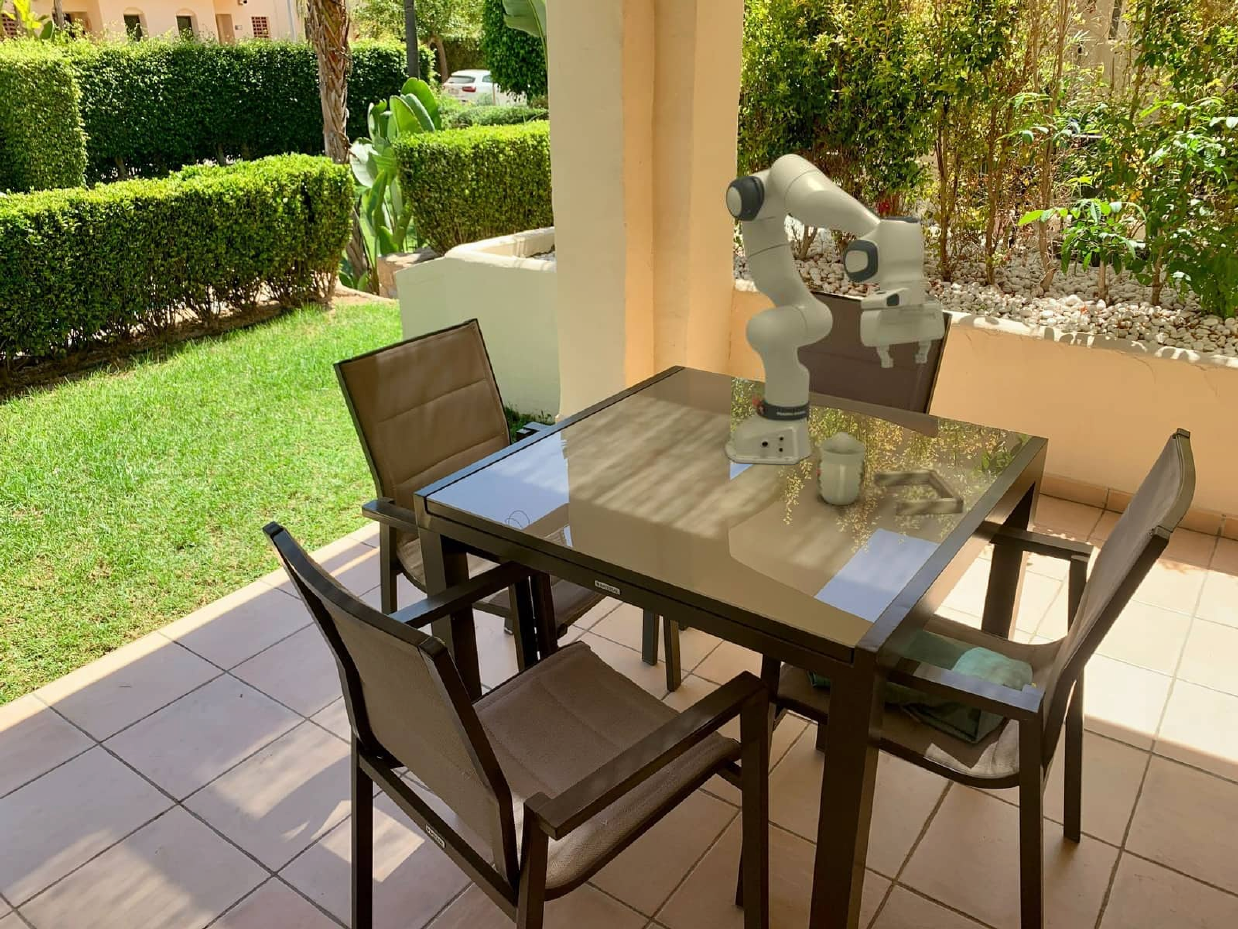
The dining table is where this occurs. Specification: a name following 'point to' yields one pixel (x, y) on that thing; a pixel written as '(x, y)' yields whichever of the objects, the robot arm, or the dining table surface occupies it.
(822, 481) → the pitcher
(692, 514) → the dining table surface
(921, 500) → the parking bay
